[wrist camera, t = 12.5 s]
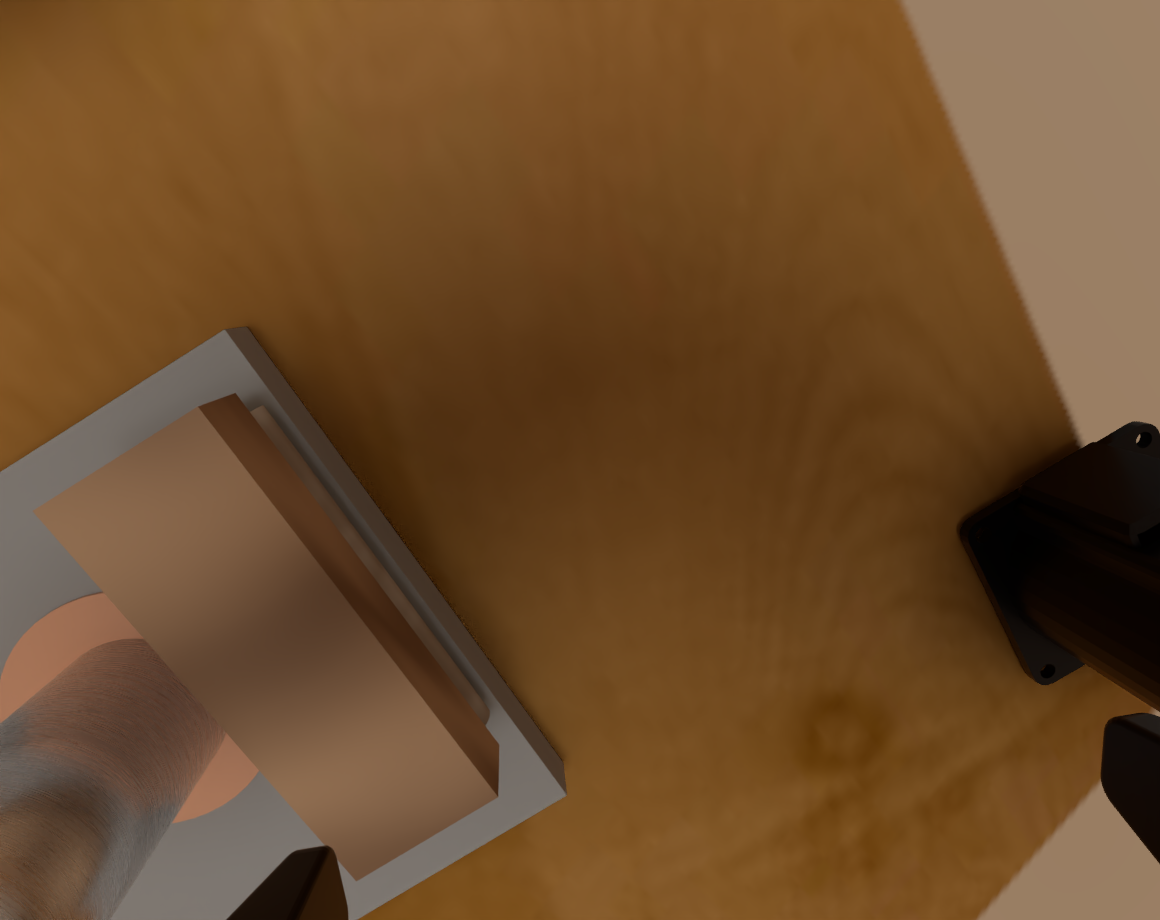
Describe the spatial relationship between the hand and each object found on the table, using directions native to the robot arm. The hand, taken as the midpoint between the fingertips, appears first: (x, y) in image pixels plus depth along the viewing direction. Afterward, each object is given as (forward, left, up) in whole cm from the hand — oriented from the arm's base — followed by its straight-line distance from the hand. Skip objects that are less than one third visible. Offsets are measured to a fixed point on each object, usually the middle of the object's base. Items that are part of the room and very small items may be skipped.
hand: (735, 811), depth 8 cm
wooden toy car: (+2, +8, -12) cm, 14 cm away
